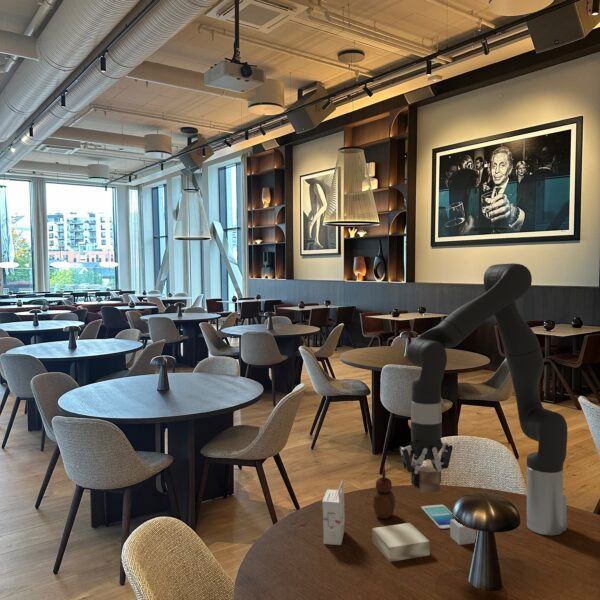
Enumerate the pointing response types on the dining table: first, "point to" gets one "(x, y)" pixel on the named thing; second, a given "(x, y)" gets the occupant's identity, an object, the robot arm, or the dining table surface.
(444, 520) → the smartphone
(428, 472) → the walnut cube
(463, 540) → the grey cube
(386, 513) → the wooden figurine
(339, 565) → the dining table surface
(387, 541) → the birch block
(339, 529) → the ink cartridge box
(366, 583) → the dining table surface
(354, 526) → the dining table surface
